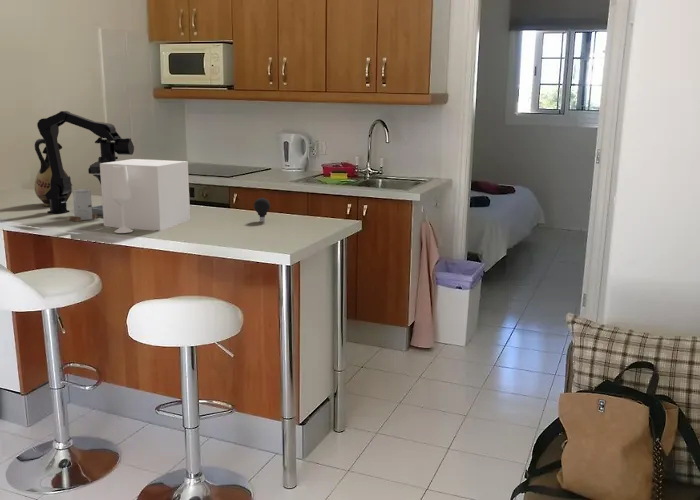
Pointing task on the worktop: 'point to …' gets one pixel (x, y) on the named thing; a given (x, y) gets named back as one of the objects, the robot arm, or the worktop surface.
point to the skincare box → (82, 203)
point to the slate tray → (98, 210)
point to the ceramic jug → (44, 175)
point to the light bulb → (262, 208)
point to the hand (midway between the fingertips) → (110, 191)
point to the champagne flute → (121, 193)
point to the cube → (148, 194)
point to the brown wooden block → (73, 218)
